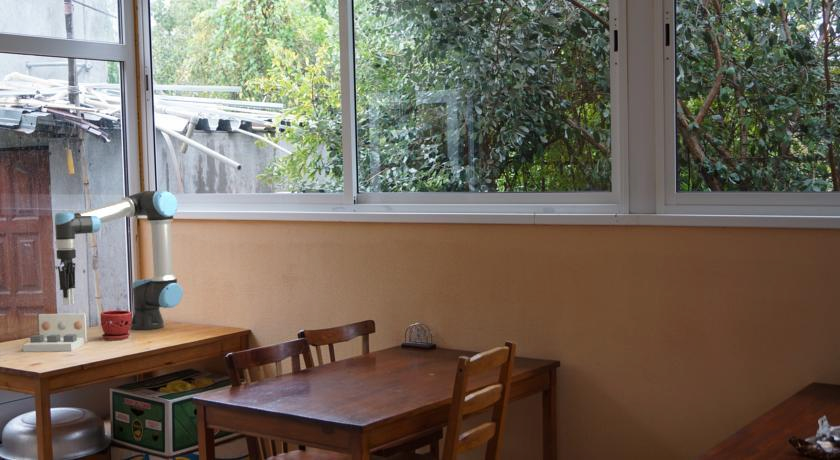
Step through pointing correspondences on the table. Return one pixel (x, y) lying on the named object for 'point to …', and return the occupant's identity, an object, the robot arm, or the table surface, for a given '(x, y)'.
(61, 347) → the console
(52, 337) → the middle button
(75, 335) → the outer button
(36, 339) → the outer button
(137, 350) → the table surface
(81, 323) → the pattern sign
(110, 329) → the plant pot
